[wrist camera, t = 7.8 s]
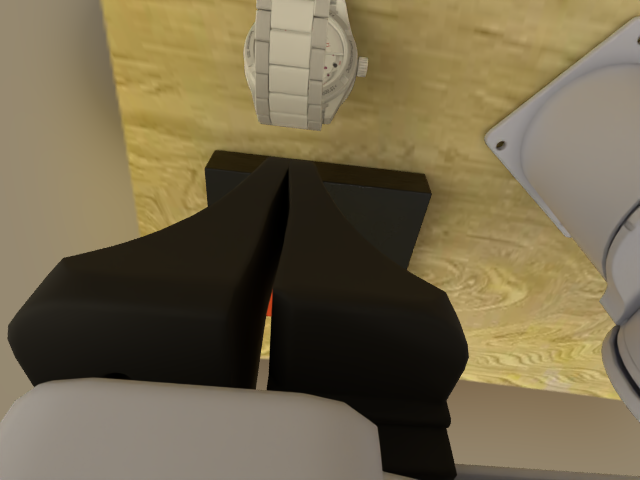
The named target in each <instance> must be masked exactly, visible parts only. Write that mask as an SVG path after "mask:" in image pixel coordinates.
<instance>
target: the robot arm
mask: <svg viewBox="0 0 640 480" xmlns="http://www.w3.org/2000/svg"><path fill="white" fill-rule="evenodd" d="M639 37H640V16H637V17H634V18H633V19H631V20H630V21H628V22H627V23H626V24H624V25H623V26H622V27H621V28H619V29H618V30H617V31H615V32H614V33H613V34H612V35H610V36H609V37H608V38H607V39H605V40H604V41H603V42H601V43H600V44H599V45H598V46H596V47H595V48H594V49H592V50H591V51H590V52H589V53H587V54H586V55H585V56H584V57H582V58H581V59H580V60H578V61H577V62H576V63H575V64H573V65H572V66H571V67H569V68H568V69H567V70H566V71H564V72H563V73H562V74H561V75H559V76H558V77H557V78H555V79H554V80H553V81H552V82H550V83H549V84H548V85H546V86H545V87H544V88H543V89H541V90H540V91H539V92H537V93H536V94H535V95H534V96H532V97H531V98H530V99H529V100H527V101H526V102H525V103H523V104H522V105H521V106H520V107H518V108H517V109H516V110H514V111H513V112H512V113H511V114H509V115H508V116H507V117H506V118H504V119H503V120H502V121H500V122H499V123H498V124H497V125H495V126H494V127H493V128H491V129H490V130H489V131H488V132H487V133H486V135H485V137H484V141H485V143H486V144H487V146H488V147H489V148H490V149H491V150H492V152H493V153H494V154H495V155H496V156H497V157H498V159H499V160H500V161H501V162H502V163H503V164H504V166H505V167H506V168H507V169H508V170H509V171H510V173H511V174H512V175H513V176H514V177H515V178H516V180H517V181H518V182H519V183H520V184H521V185H522V187H523V188H524V189H525V190H526V191H527V192H528V194H529V195H530V196H531V197H532V198H533V199H534V201H535V202H536V203H537V204H538V205H539V206H540V208H541V209H542V210H543V211H544V212H545V213H546V215H547V216H548V217H549V218H550V219H551V220H552V222H553V223H554V224H555V225H556V226H557V227H558V229H559V230H560V231H561V232H562V233H563V234H564V236H566V237H569V238H571V237H572V238H573V239H574V241H575V242H576V243H577V244H578V246H579V247H580V248H581V250H582V251H583V252H584V253H585V255H586V256H587V257H588V259H589V260H590V261H591V262H592V264H593V265H594V266H595V268H596V269H597V270H598V271H599V273H600V274H601V275H602V277H603V278H604V279H605V280H606V282H607V283H608V284H607V289H606V291H605V293H604V295H603V296H602V298H601V299H600V301H599V302H600V303H601V304H602V306H603V307H604V309H605V310H606V311H607V313H608V314H609V316H610V317H611V318H612V320H613V321H614V323H615V324H616V326H614V327H613V328H612V329H611V330H610V331H609V332H608V333H607V335H606V337H605V339H604V340H603V344H602V350H601V352H602V361H603V364H604V367H605V370H606V373H607V375H608V377H609V379H610V381H611V383H612V385H613V387H614V389H615V390H616V392H617V393H618V395H619V396H620V398H621V399H622V401H623V402H624V403H625V405H626V406H627V408H628V409H629V410H630V412H631V413H632V414H633V415H634V417H635V418H636V419H637V420H638V421H639V422H640V42H639V43H638V39H639ZM501 141H504V144H503V145H502V146H501V147H496V145H497V144H498V143H499V142H501ZM272 290H273V291H272ZM271 294H272V314H271V336H270V359H269V377H268V384H267V390H256V383H257V376H258V369H259V362H260V355H261V348H262V341H263V334H264V327H265V320H266V315H267V310H268V306H269V302H270V298H271ZM8 341H9V344H10V346H11V348H12V351H13V353H14V355H15V358H16V359H17V361H18V362H19V364H20V366H21V367H22V369H23V370H24V372H25V373H26V375H27V377H28V378H29V380H30V381H31V383H32V384H33V386H34V388H33V389H32V390H30V391H28V392H27V393H26V394H24V395H23V396H21V397H20V398H18V399H17V400H15V402H14V403H13V405H12V406H11V407H10V409H9V410H8V412H7V413H6V415H5V417H4V418H3V419H2V421H1V422H0V480H640V476H628V475H612V474H599V473H584V472H569V471H554V470H539V469H524V468H509V467H495V466H479V465H464V464H455V463H454V459H453V455H452V450H451V446H450V442H449V438H448V434H447V429H446V428H448V427H449V426H450V424H451V417H450V413H449V409H448V406H447V401H446V400H447V399H448V397H449V395H450V393H451V392H452V390H453V388H454V387H455V385H456V383H457V382H458V380H459V378H460V376H461V375H462V373H463V371H464V369H465V367H466V364H467V361H468V358H469V354H468V344H467V341H466V338H465V335H464V333H463V330H462V327H461V324H460V322H459V319H458V317H457V315H456V312H455V310H454V308H453V306H452V304H451V303H450V301H449V298H448V296H447V294H446V292H444V291H443V290H441V289H439V288H437V287H435V286H433V285H432V284H430V283H428V282H426V281H424V280H423V279H421V278H419V277H417V276H415V275H413V274H412V273H410V272H409V271H407V270H406V269H404V268H403V267H401V266H400V265H398V264H397V263H395V262H394V261H392V260H391V259H389V258H388V257H387V256H385V255H384V254H383V253H381V252H380V251H379V250H378V249H377V248H375V247H374V246H373V245H372V244H371V243H370V242H368V241H367V240H366V239H365V238H364V237H363V236H362V235H361V234H360V233H359V232H358V231H357V230H356V229H355V228H354V227H353V226H352V225H351V224H350V223H349V221H348V220H347V219H346V218H345V216H344V215H343V214H342V212H341V211H340V210H339V208H338V207H337V205H336V204H335V202H334V201H333V199H332V198H331V196H330V194H329V193H328V191H327V189H326V187H325V186H324V184H323V182H322V180H321V177H320V175H319V173H318V170H317V167H316V165H315V163H314V162H313V161H306V160H296V159H287V158H278V157H268V158H267V159H266V160H265V161H264V162H263V163H262V164H261V165H260V166H259V167H258V168H257V169H255V170H254V171H253V172H252V173H251V174H250V175H249V176H248V177H247V178H246V179H245V180H243V181H242V182H241V183H240V184H239V185H238V186H237V187H235V188H234V189H233V190H232V191H230V192H229V193H228V194H226V195H225V196H224V197H222V198H221V199H220V200H218V201H217V202H215V203H213V204H212V205H210V206H209V207H207V208H205V209H203V210H202V211H200V212H198V213H196V214H195V215H193V216H191V217H189V218H186V219H184V220H182V221H180V222H178V223H175V224H173V225H171V226H169V227H167V228H164V229H162V230H160V231H157V232H154V233H152V234H149V235H146V236H143V237H140V238H137V239H134V240H131V241H128V242H125V243H122V244H119V245H115V246H111V247H107V248H103V249H99V250H95V251H92V252H87V253H83V254H79V255H75V256H70V257H66V258H63V259H62V260H61V261H60V262H59V263H58V264H57V265H56V267H55V268H54V269H53V270H52V271H51V272H50V273H49V274H48V276H47V277H46V278H45V279H44V280H43V282H42V283H41V284H40V285H39V287H38V288H37V289H36V290H35V292H34V293H33V294H32V295H31V297H30V298H29V299H28V300H27V301H26V303H25V304H24V305H23V306H22V308H21V309H20V310H19V311H18V313H17V314H16V315H15V317H14V318H13V319H12V321H11V322H10V324H9V325H8Z"/></svg>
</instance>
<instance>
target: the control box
mask: <svg viewBox="0 0 640 480" xmlns="http://www.w3.org/2000/svg"><path fill="white" fill-rule="evenodd" d="M268 157H270V156H262V155H253V154H244V153H235V152H227V151H218V150H215V151H214V153H213V155H212V156H211V158H210V160H209V162H208V163H207V165H206V167H205V179H206V191H207V202H208V207H209V206H210V205H212V204H213V203H215V202H217V201H218V200H220V199H221V198H222V197H224V196H225V195H226V194H228V193H229V192H230V191H232V190H233V189H234V188H235V187H237V186H238V185H239V184H240V183H241V182H242V181H243V180H245V179H246V178H247V177H248V176H249V175H250V174H251V173H252V172H253V171H254V170H255V169H257V168H258V167H259V166H260V165H261V164H262V163H263V162H264V161H265V160H266V159H267V158H268ZM278 158H279V157H278ZM287 159H288V158H287ZM296 160H297V159H296ZM313 162H314V161H313ZM314 163H315V165H316V167H317V170H318V173H319V175H320V177H321V180H322V182H323V184H324V186H325V187H326V189H327V191H328V193H329V194H330V196H331V198H332V199H333V201H334V202H335V204H336V205H337V207H338V208H339V210H340V211H341V212H342V214H343V215H344V216H345V218H346V219H347V220H348V221H349V223H350V224H351V225H352V226H353V227H354V228H355V229H356V230H357V231H358V232H359V233H360V234H361V235H362V236H363V237H364V238H365V239H366V240H367V241H368V242H370V243H371V244H372V245H373V246H374V247H375V248H377V249H378V250H379V251H380V252H381V253H383V254H384V255H385V256H387V257H388V258H389V259H391V260H392V261H394V262H395V263H397V264H398V265H400V266H401V267H403V268H404V269H406V270H407V267H408V264H409V261H410V258H411V255H412V252H413V249H414V246H415V243H416V240H417V237H418V234H419V231H420V228H421V225H422V222H423V219H424V216H425V213H426V210H427V207H428V204H429V201H430V198H431V195H432V193H431V190H430V187H429V185H428V182H427V179H426V176H425V174H419V173H410V172H401V171H392V170H384V169H375V168H366V167H358V166H349V165H340V164H331V163H323V162H314Z"/></svg>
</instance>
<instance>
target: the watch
mask: <svg viewBox="0 0 640 480" xmlns="http://www.w3.org/2000/svg"><path fill="white" fill-rule="evenodd" d="M256 7H257V9H258V10H257V11H256V21H255V23H254V24H253V26H252V27H251V29H250V31H249V33H248V35H247V37H246V40H245V45H244V65H245V66H244V68H245V76H246V80H247V83H248V86H249V88H250V90H251V92H252V97H253V101H254V106H255V110H256V114H257V118H258V121H259V122H260V124H266V125H274V126H283V127H291V128H299V129H309V130H317V131H321V127H322V124H330V123H331V121H332V120H333V118H334V116H335V114H336V112H337V111H338V109H339V107H340V106H341V104H343V102H345V100H346V98H348V96H349V94H350V93H351V91H352V88H353V86H354V83H355V78H356V76H359V77H365V76H366V73H367V68H368V58H366V57H359V58H358V54H357V46H356V42H355V40H354V37H353V35H352V31H351V27H350V23H349V19H348V13H347V7H346V2H345V0H257V4H256ZM357 59H358V60H357Z"/></svg>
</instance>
